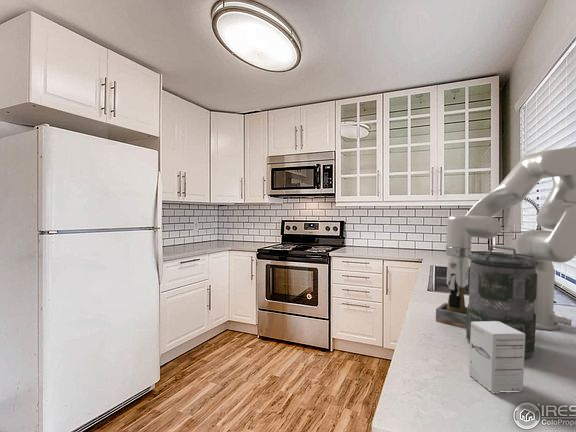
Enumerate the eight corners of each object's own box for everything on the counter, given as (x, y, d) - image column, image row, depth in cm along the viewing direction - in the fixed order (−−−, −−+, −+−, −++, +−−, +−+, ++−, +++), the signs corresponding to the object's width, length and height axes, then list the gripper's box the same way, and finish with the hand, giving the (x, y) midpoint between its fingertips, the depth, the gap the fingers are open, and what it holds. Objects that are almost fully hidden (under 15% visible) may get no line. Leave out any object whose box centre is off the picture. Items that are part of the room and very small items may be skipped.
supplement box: (467, 375, 72) (469, 320, 72) (498, 374, 73) (499, 320, 73) (490, 394, 65) (493, 333, 65) (524, 393, 66) (526, 333, 65)
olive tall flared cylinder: (461, 310, 111) (462, 279, 111) (469, 316, 105) (470, 283, 105) (443, 309, 111) (444, 278, 111) (450, 315, 105) (451, 282, 105)
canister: (453, 339, 93) (456, 244, 92) (491, 332, 98) (494, 242, 98) (507, 364, 78) (511, 251, 77) (548, 355, 84) (552, 249, 83)
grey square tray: (475, 321, 108) (476, 309, 108) (468, 329, 101) (469, 316, 101) (444, 314, 115) (444, 302, 115) (435, 321, 108) (436, 308, 108)
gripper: (464, 255, 99) (462, 314, 99) (476, 251, 111) (474, 303, 112) (438, 253, 104) (436, 308, 104) (452, 249, 116) (451, 298, 117)
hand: (456, 305), depth 108 cm, fingers closed on olive tall flared cylinder, 3 cm apart
